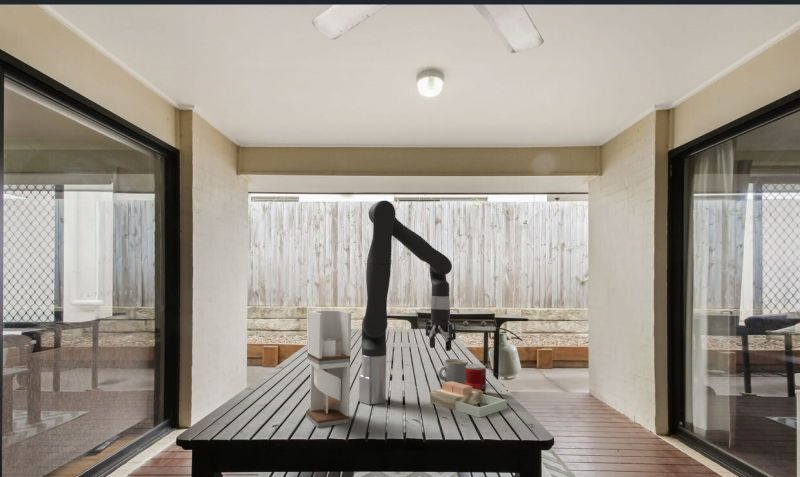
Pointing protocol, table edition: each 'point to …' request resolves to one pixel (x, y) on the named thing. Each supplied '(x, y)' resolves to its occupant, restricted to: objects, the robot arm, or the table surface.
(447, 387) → the tile back
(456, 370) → the coffee mug
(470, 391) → the tile front
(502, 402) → the tray
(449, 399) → the plate
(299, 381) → the table surface
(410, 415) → the table surface
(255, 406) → the table surface
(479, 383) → the canned food
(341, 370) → the display case
